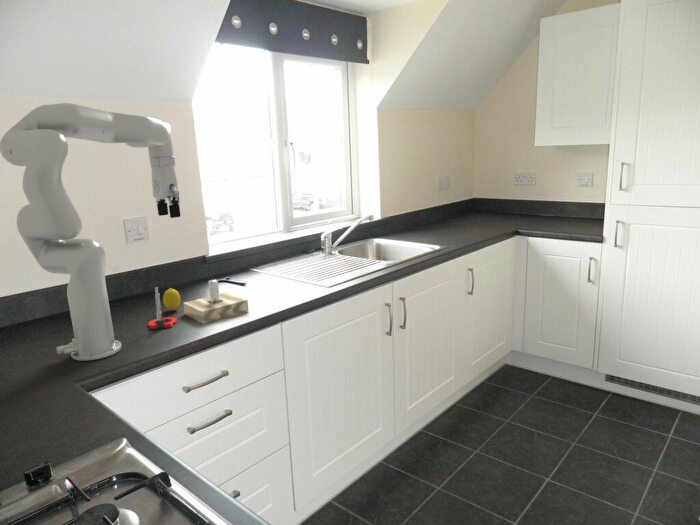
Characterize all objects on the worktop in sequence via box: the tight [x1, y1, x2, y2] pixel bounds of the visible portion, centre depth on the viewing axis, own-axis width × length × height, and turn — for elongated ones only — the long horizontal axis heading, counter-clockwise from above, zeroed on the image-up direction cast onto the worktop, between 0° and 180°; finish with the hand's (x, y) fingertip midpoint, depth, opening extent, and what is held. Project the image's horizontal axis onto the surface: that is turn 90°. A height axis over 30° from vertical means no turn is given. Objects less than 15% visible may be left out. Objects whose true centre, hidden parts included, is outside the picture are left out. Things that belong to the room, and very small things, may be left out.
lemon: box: [162, 287, 182, 312], centre depth 176 cm, size 6×6×8 cm
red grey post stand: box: [147, 286, 178, 330], centre depth 163 cm, size 8×13×9 cm
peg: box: [208, 279, 220, 304], centre depth 171 cm, size 3×3×11 cm
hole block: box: [182, 291, 249, 325], centre depth 172 cm, size 16×14×4 cm
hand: (169, 216), depth 169 cm, fingers open, 9 cm apart
